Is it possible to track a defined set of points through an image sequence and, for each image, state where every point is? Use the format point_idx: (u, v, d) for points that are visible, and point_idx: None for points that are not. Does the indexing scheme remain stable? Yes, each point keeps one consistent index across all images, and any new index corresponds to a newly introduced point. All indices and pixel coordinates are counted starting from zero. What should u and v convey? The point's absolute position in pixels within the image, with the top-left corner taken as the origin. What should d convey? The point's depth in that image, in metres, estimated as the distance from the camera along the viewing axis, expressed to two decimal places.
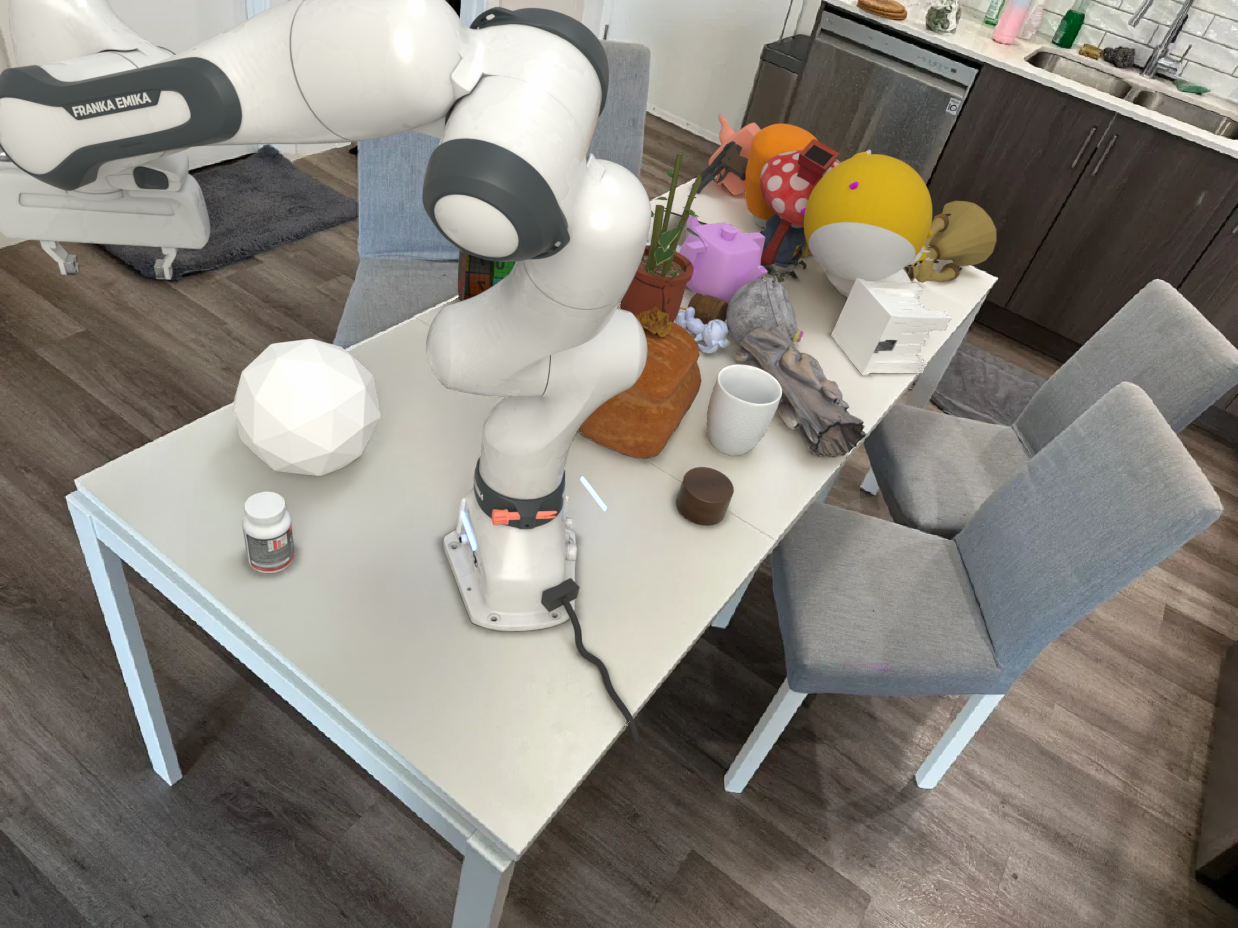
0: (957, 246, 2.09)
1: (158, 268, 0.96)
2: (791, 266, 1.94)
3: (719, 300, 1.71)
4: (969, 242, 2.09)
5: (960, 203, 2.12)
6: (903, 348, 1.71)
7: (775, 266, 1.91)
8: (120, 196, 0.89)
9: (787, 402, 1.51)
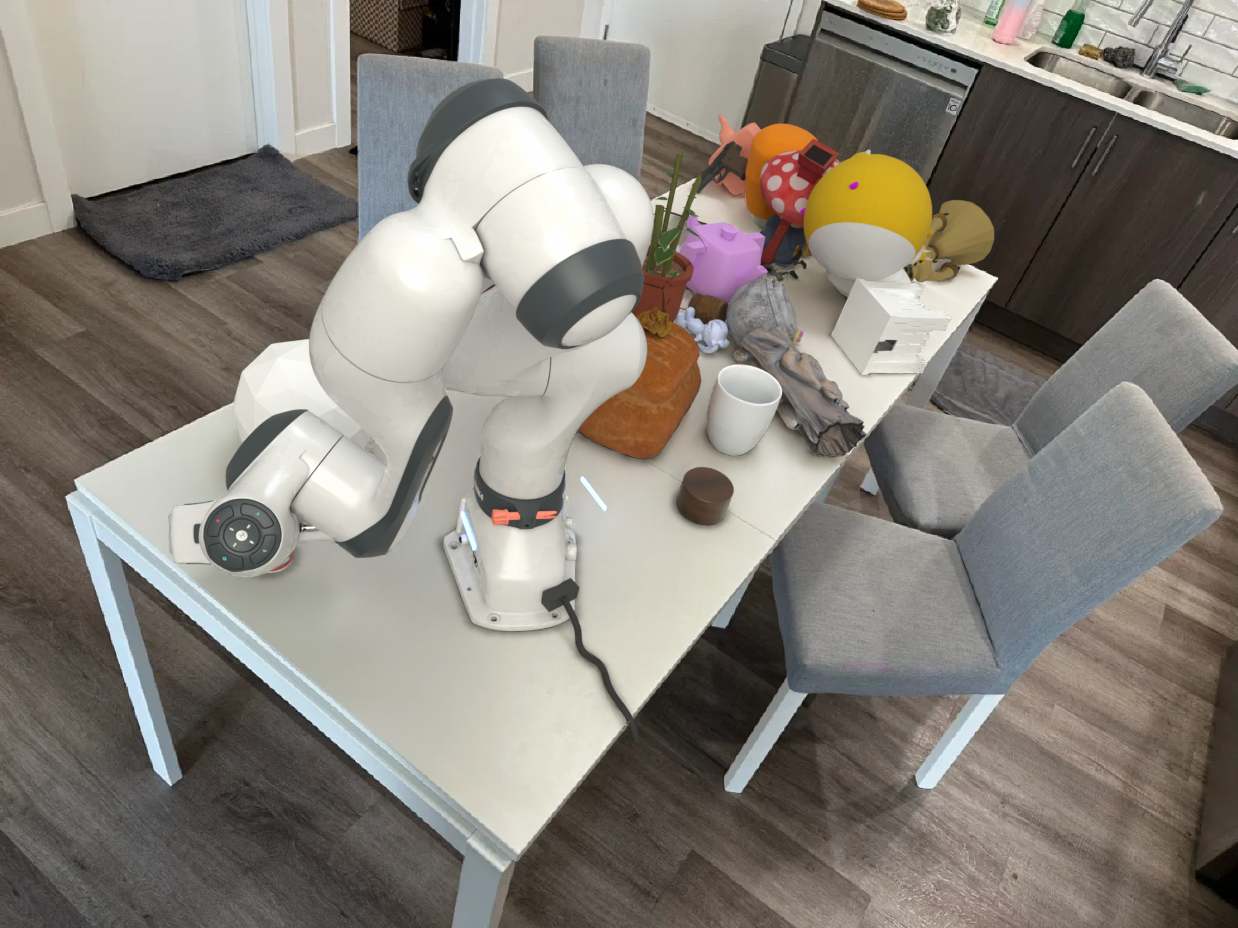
0: (955, 245, 2.09)
1: None
2: (791, 266, 1.94)
3: (719, 300, 1.71)
4: (967, 241, 2.09)
5: (957, 202, 2.12)
6: (903, 348, 1.71)
7: (775, 265, 1.92)
8: None
9: (787, 402, 1.51)
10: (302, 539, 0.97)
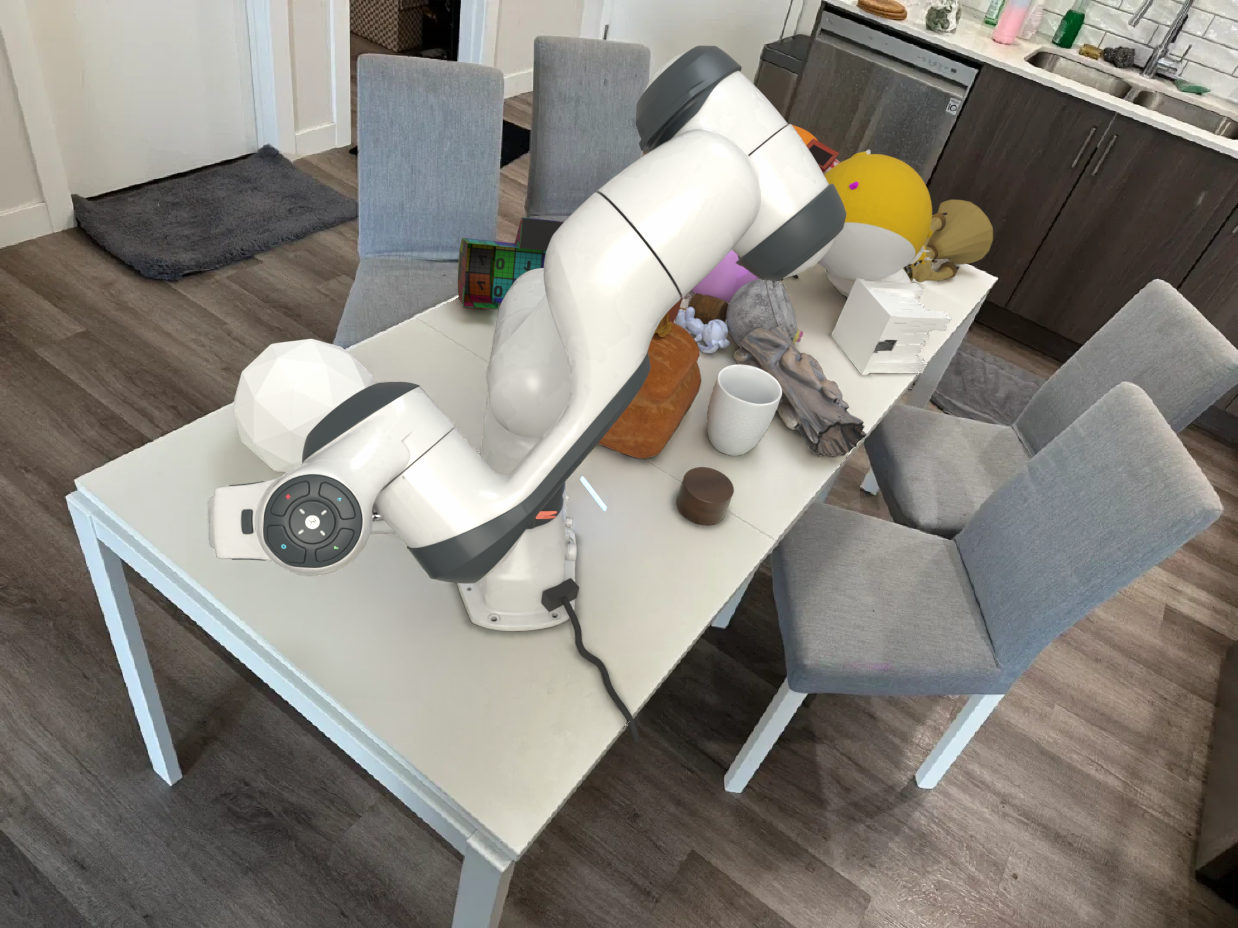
0: (954, 245, 2.09)
1: None
2: None
3: (719, 300, 1.71)
4: (966, 241, 2.09)
5: (956, 202, 2.12)
6: (903, 348, 1.71)
7: None
8: None
9: (787, 402, 1.51)
10: (370, 530, 0.79)
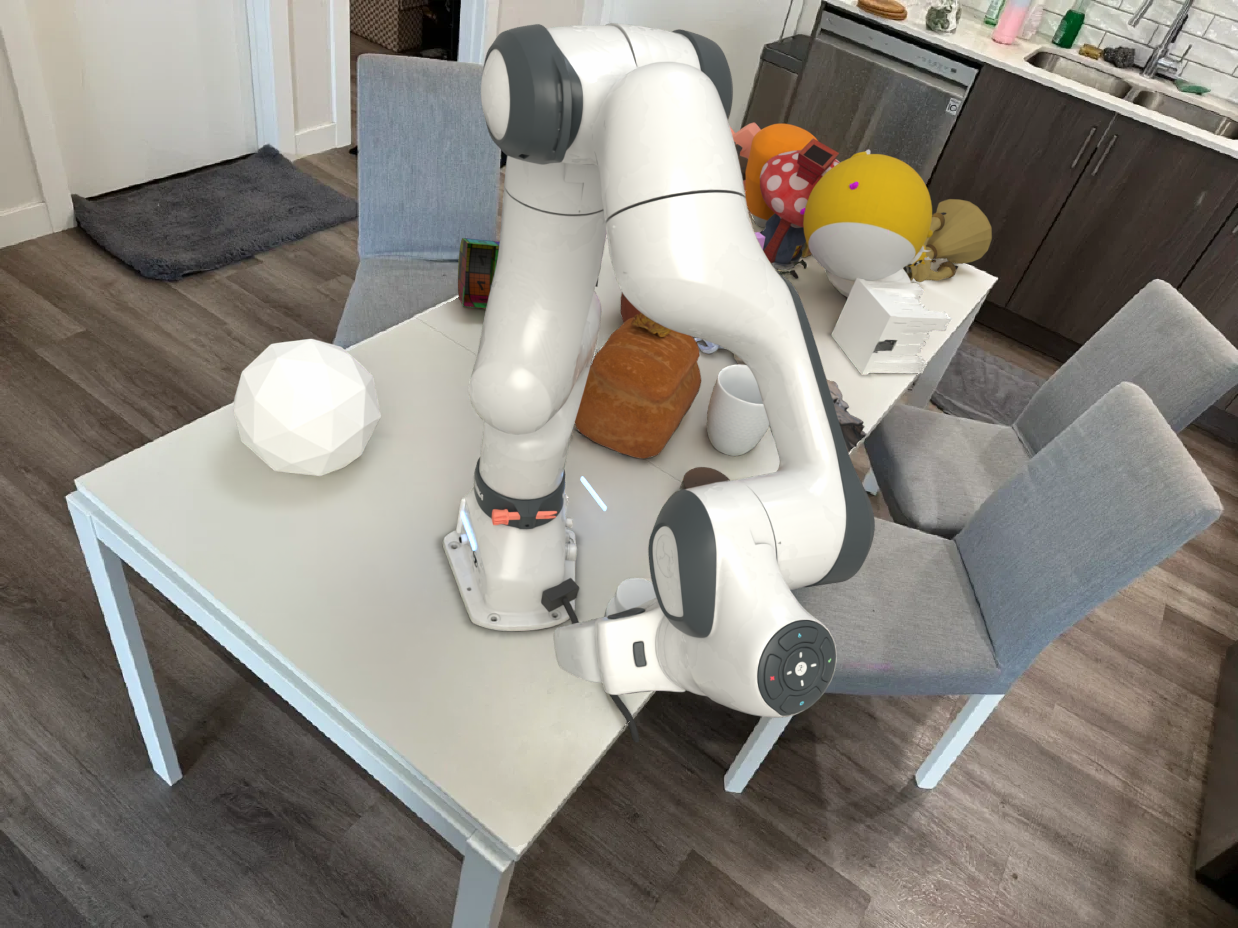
0: (953, 245, 2.09)
1: None
2: (791, 265, 1.94)
3: None
4: (965, 240, 2.10)
5: (955, 201, 2.12)
6: (903, 348, 1.71)
7: (775, 265, 1.92)
8: None
9: None
10: None
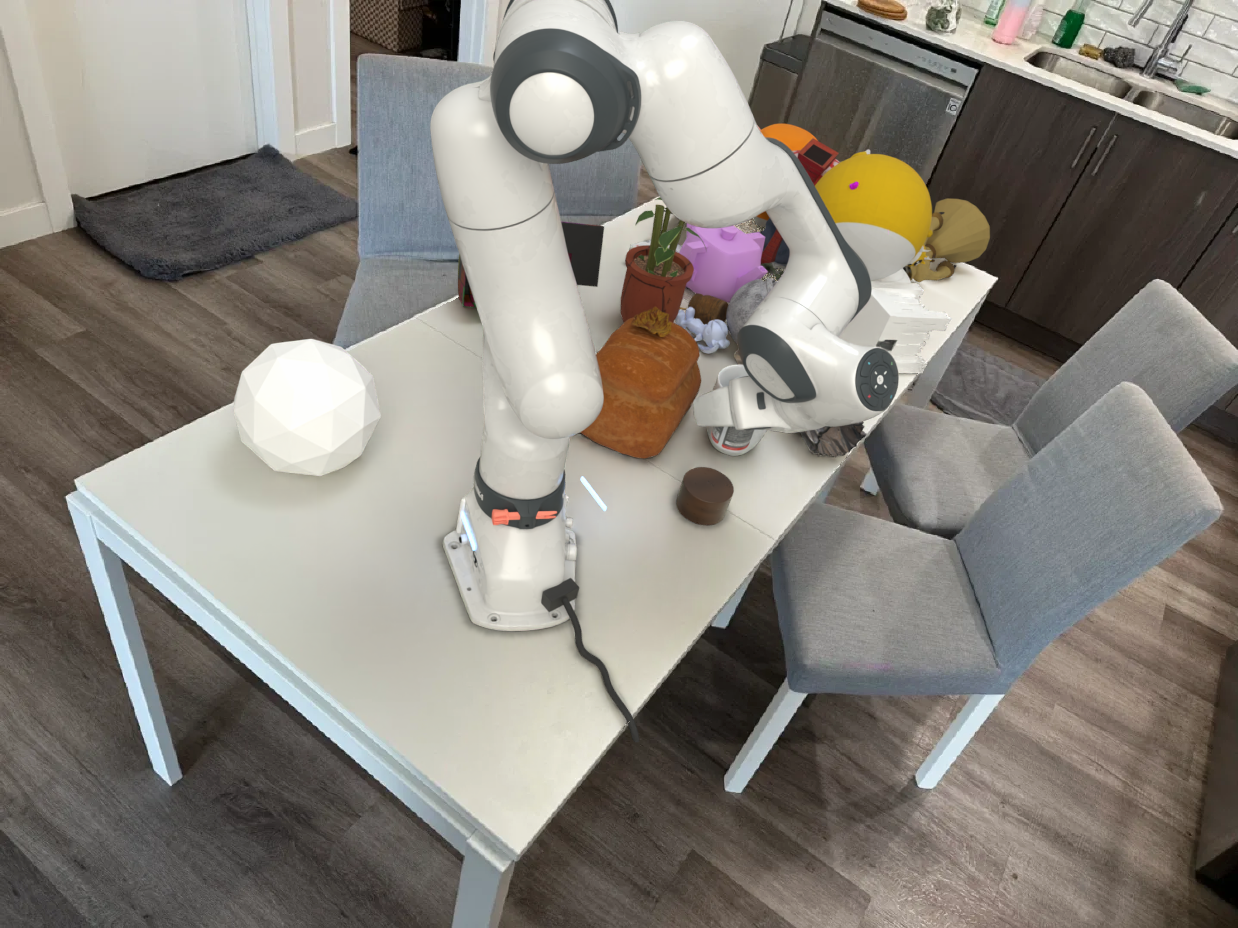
0: (952, 244, 2.09)
1: None
2: None
3: (719, 300, 1.71)
4: (963, 240, 2.10)
5: (952, 201, 2.12)
6: (903, 348, 1.71)
7: (775, 264, 1.92)
8: None
9: None
10: None
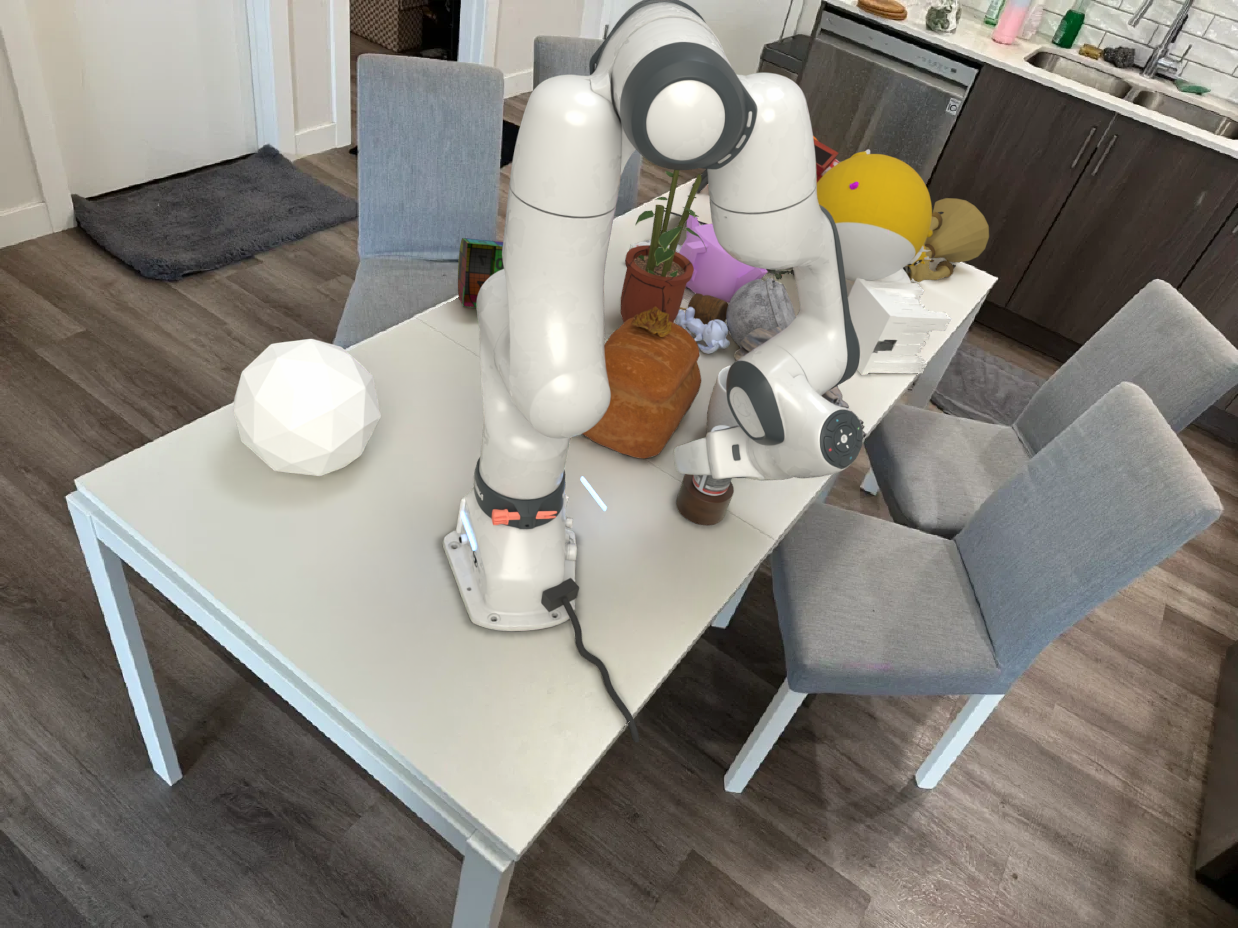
0: (951, 244, 2.09)
1: None
2: None
3: (719, 300, 1.71)
4: (962, 239, 2.10)
5: (951, 200, 2.12)
6: (903, 348, 1.71)
7: None
8: None
9: None
10: None
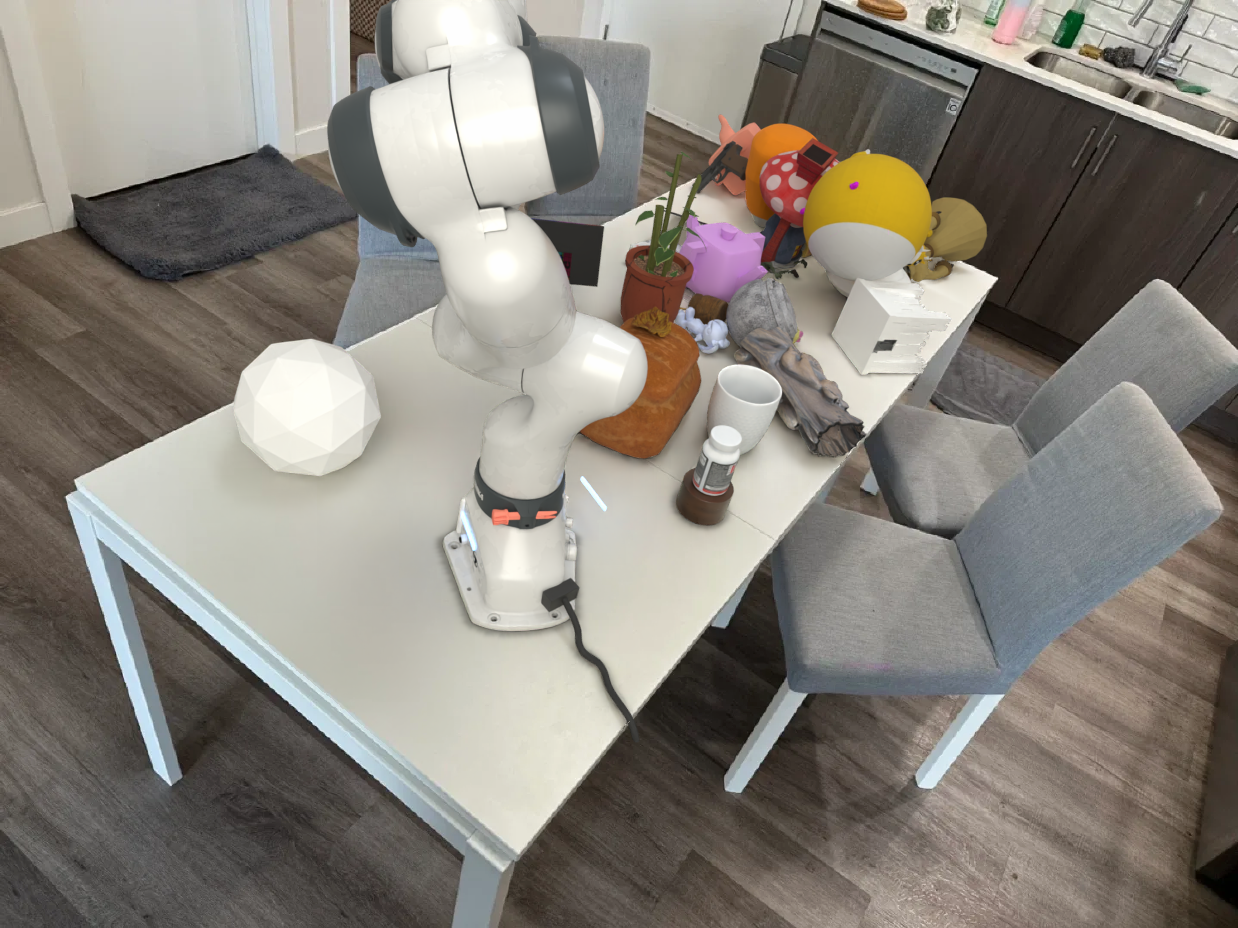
0: (949, 244, 2.10)
1: None
2: (791, 264, 1.94)
3: (719, 300, 1.71)
4: (961, 239, 2.10)
5: (949, 200, 2.12)
6: (902, 348, 1.71)
7: (774, 263, 1.92)
8: None
9: (787, 402, 1.51)
10: None
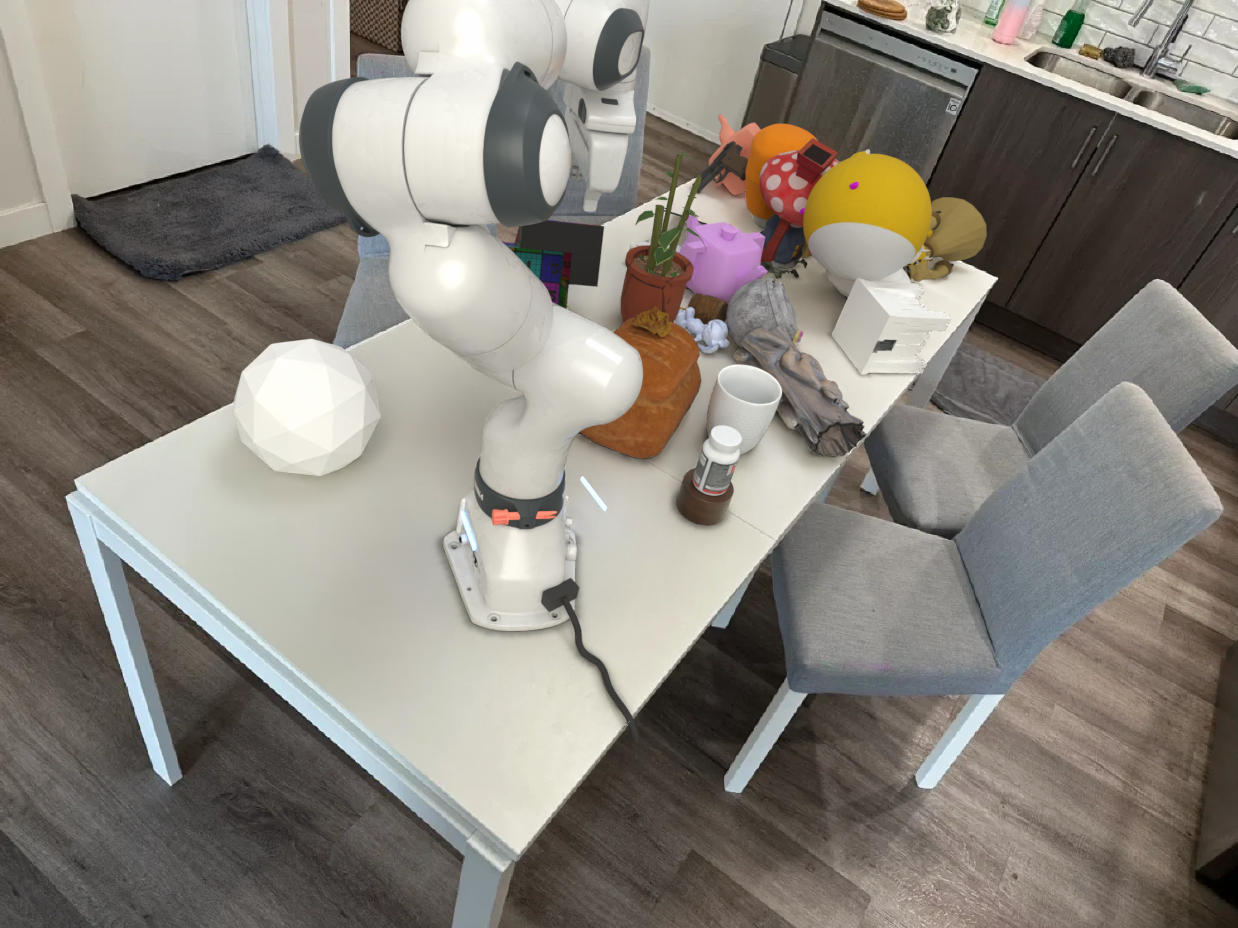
0: (949, 243, 2.10)
1: (583, 197, 1.15)
2: (791, 264, 1.94)
3: (719, 300, 1.71)
4: (960, 239, 2.10)
5: (949, 199, 2.12)
6: (902, 348, 1.71)
7: (774, 263, 1.92)
8: None
9: (787, 402, 1.51)
10: None
